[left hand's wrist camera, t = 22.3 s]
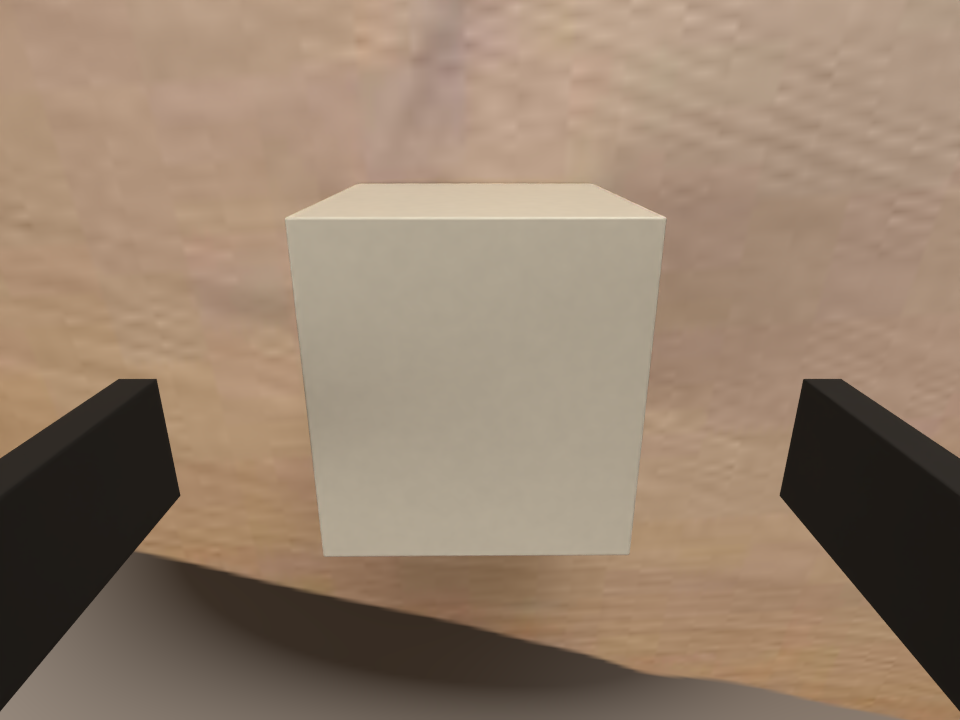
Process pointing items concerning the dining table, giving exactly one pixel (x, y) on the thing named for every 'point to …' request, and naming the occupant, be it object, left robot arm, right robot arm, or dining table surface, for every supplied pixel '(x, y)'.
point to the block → (475, 365)
